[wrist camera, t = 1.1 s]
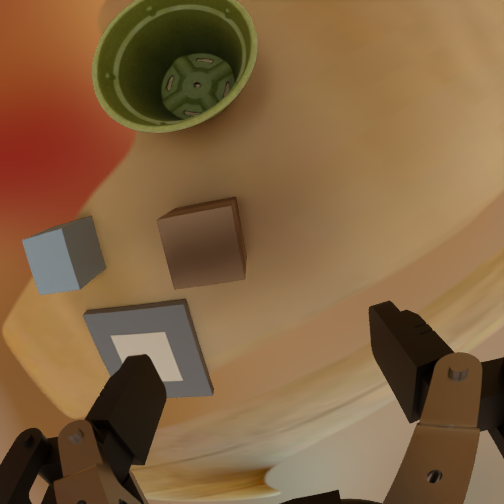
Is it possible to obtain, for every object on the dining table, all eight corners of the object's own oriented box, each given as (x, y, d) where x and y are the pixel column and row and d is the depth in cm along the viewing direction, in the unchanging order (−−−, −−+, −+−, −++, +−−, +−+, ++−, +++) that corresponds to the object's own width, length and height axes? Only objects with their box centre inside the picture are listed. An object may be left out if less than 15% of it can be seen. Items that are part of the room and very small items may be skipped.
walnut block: (175, 208, 24) (156, 220, 19) (235, 196, 23) (231, 205, 19) (188, 265, 25) (174, 289, 20) (246, 256, 25) (244, 279, 20)
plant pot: (132, 137, 22) (77, 129, 14) (155, 35, 19) (115, -10, 11) (245, 150, 22) (240, 142, 14) (265, 43, 19) (271, -11, 11)
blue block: (53, 226, 24) (22, 240, 19) (92, 215, 24) (61, 228, 19) (67, 274, 26) (39, 295, 21) (106, 267, 25) (80, 289, 20)
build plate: (87, 310, 26) (82, 315, 25) (185, 299, 26) (183, 304, 25) (124, 391, 30) (121, 397, 29) (213, 389, 29) (212, 396, 28)
